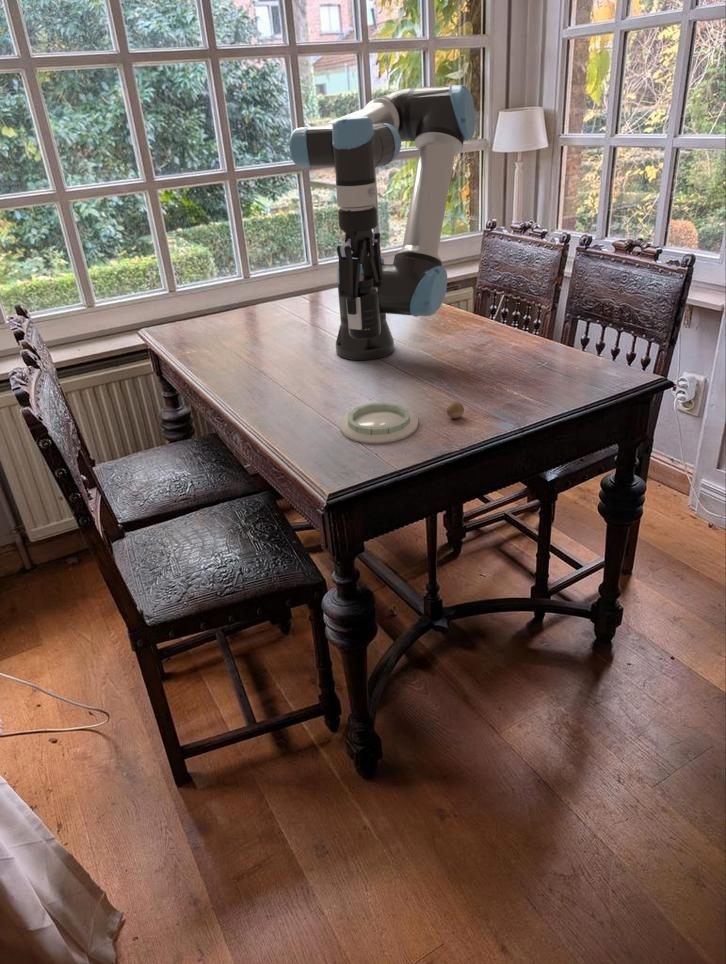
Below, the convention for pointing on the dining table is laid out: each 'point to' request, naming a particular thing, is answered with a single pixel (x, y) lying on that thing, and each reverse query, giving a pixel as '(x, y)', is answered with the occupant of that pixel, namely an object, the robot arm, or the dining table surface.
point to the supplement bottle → (367, 310)
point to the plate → (378, 423)
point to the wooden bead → (455, 410)
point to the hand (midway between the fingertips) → (364, 322)
